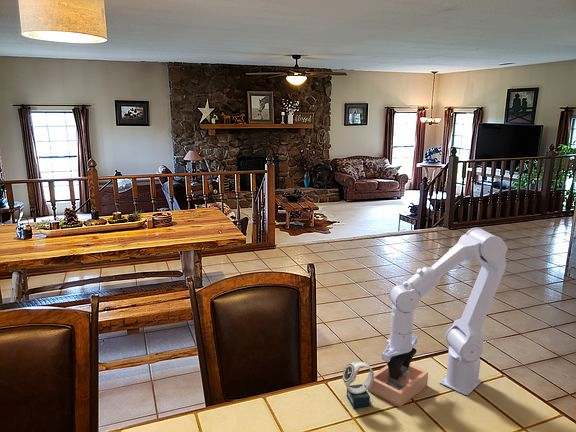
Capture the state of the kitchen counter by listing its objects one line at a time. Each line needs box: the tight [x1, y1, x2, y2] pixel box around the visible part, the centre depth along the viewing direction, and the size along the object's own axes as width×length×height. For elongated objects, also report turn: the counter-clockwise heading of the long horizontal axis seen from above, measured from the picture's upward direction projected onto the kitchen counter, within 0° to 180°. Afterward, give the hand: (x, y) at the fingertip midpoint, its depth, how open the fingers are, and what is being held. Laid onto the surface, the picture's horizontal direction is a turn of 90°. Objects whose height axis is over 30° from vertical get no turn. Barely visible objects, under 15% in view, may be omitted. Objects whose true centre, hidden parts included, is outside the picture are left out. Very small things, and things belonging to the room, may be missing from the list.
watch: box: [342, 361, 375, 410], centre depth 116 cm, size 6×8×11 cm
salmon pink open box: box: [367, 363, 429, 408], centre depth 123 cm, size 14×10×4 cm
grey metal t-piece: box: [385, 366, 410, 390], centre depth 123 cm, size 5×5×6 cm
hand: (398, 375), depth 123 cm, fingers open, 4 cm apart
